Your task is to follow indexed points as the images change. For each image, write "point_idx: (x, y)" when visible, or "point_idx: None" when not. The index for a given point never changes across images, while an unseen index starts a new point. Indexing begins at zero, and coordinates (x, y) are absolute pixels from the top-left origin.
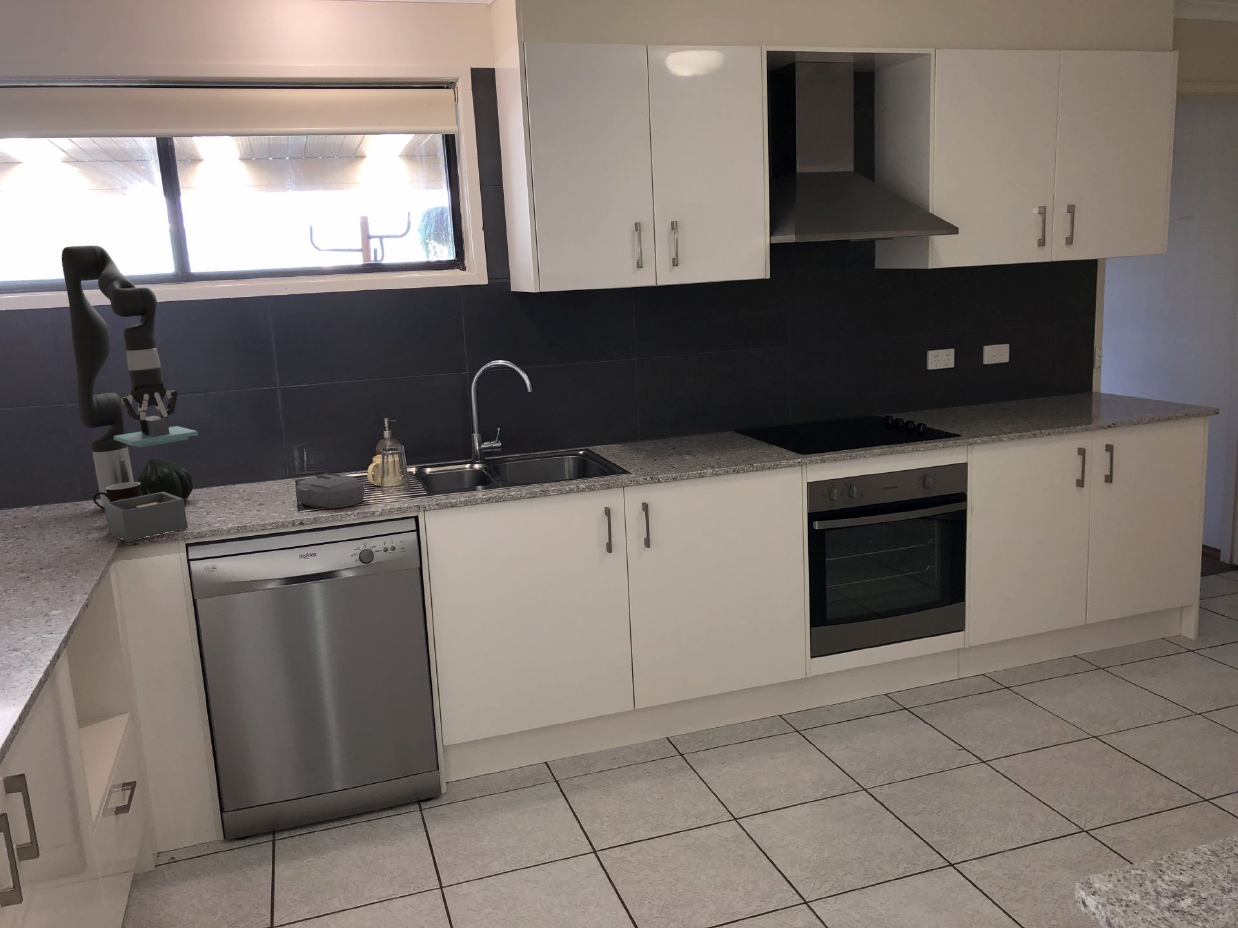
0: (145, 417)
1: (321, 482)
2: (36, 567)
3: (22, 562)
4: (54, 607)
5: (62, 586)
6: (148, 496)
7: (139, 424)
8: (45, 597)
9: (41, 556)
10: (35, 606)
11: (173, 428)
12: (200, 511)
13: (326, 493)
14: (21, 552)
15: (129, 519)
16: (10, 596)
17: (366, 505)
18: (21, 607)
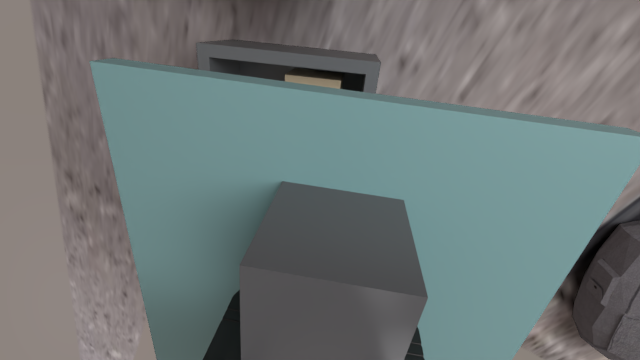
0: (301, 301)
1: (632, 336)
2: (89, 176)
3: (64, 117)
4: (114, 343)
5: (123, 293)
6: (326, 69)
7: (213, 338)
8: (105, 311)
9: (94, 107)
10: (97, 326)
11: (518, 237)
12: (480, 38)
13: (592, 339)
14: (53, 21)
15: None
16: (68, 275)
17: None
18: (83, 318)
